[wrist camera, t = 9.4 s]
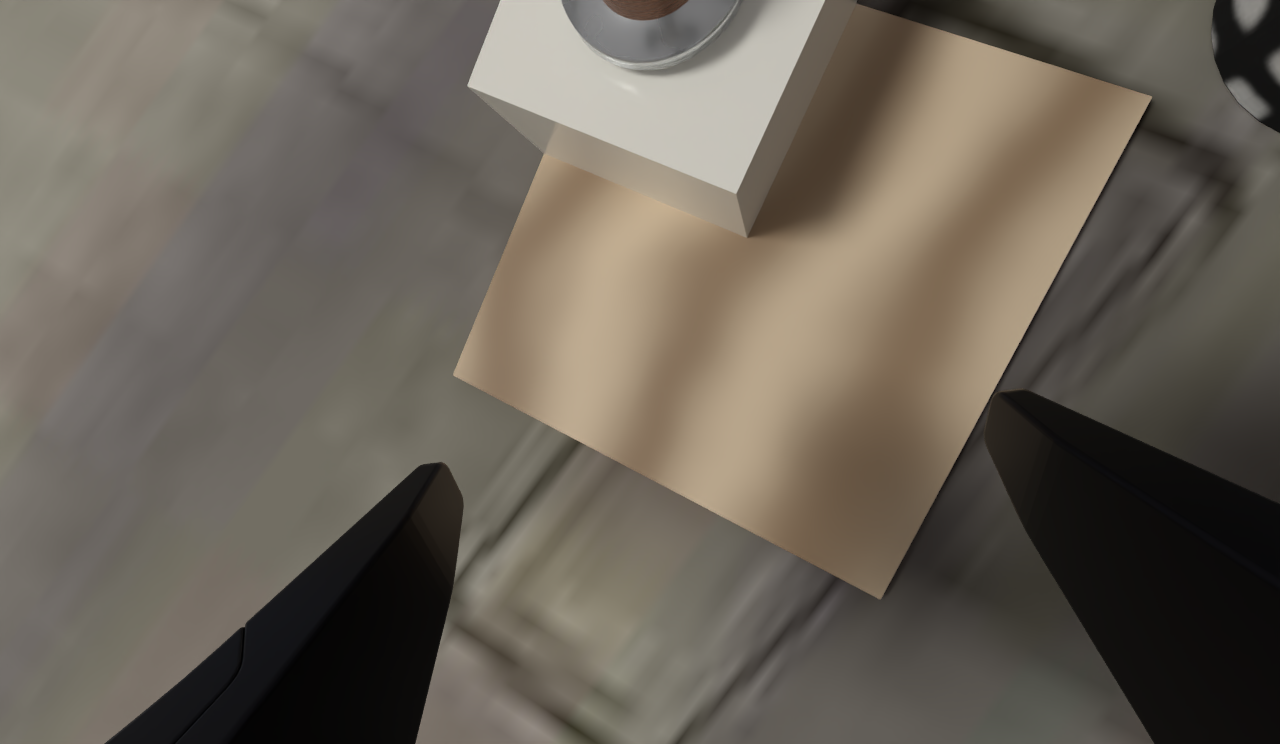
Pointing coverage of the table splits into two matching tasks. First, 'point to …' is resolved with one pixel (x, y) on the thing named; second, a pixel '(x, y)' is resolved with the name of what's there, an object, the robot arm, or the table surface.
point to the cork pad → (813, 294)
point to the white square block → (666, 102)
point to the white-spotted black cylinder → (1250, 54)
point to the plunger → (649, 29)
